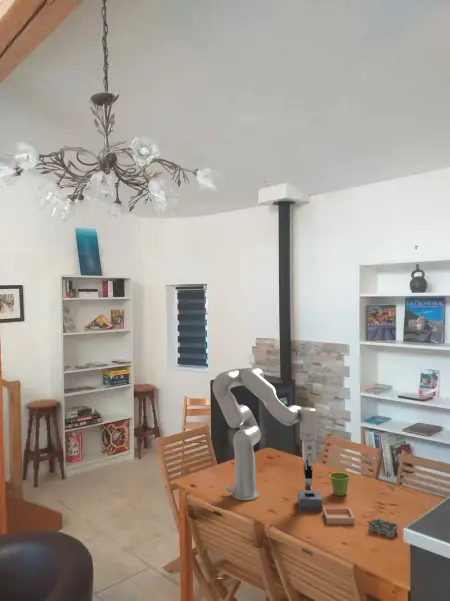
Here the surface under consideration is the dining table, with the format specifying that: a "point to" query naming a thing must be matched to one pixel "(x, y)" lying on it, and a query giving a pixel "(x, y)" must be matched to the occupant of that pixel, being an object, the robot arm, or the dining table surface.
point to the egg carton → (386, 525)
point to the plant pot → (339, 483)
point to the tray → (338, 516)
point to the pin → (308, 482)
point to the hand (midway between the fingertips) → (308, 476)
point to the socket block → (310, 501)
